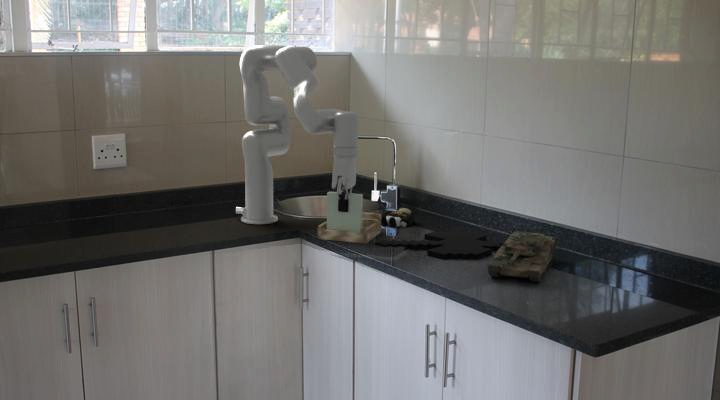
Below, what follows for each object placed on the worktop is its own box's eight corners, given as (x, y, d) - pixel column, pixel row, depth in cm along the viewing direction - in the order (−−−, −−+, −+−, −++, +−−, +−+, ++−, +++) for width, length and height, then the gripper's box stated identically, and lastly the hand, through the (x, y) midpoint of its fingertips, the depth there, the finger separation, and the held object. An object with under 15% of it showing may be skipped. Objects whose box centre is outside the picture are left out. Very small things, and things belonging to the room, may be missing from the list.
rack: (317, 241, 255) (317, 219, 254) (334, 230, 270) (334, 209, 269) (366, 246, 250) (366, 224, 249) (380, 234, 265) (381, 213, 264)
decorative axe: (438, 225, 272) (515, 241, 252) (437, 231, 273) (515, 248, 253) (374, 242, 249) (454, 261, 229) (374, 248, 249) (453, 268, 230)
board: (326, 236, 255) (327, 192, 253) (328, 235, 257) (329, 191, 255) (360, 239, 252) (360, 195, 249) (361, 238, 254) (362, 194, 251)
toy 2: (481, 288, 211) (482, 251, 209) (510, 254, 245) (512, 222, 243) (532, 295, 206) (535, 257, 204) (555, 260, 240) (557, 227, 238)
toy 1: (369, 215, 275) (391, 196, 286) (372, 235, 278) (394, 215, 289) (402, 220, 268) (423, 201, 279) (404, 240, 271) (425, 220, 282)
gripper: (342, 148, 258) (341, 205, 262) (325, 154, 243) (324, 214, 247) (364, 149, 256) (363, 206, 259) (348, 156, 241) (347, 217, 245)
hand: (344, 210), depth 253 cm, fingers closed on board, 2 cm apart
